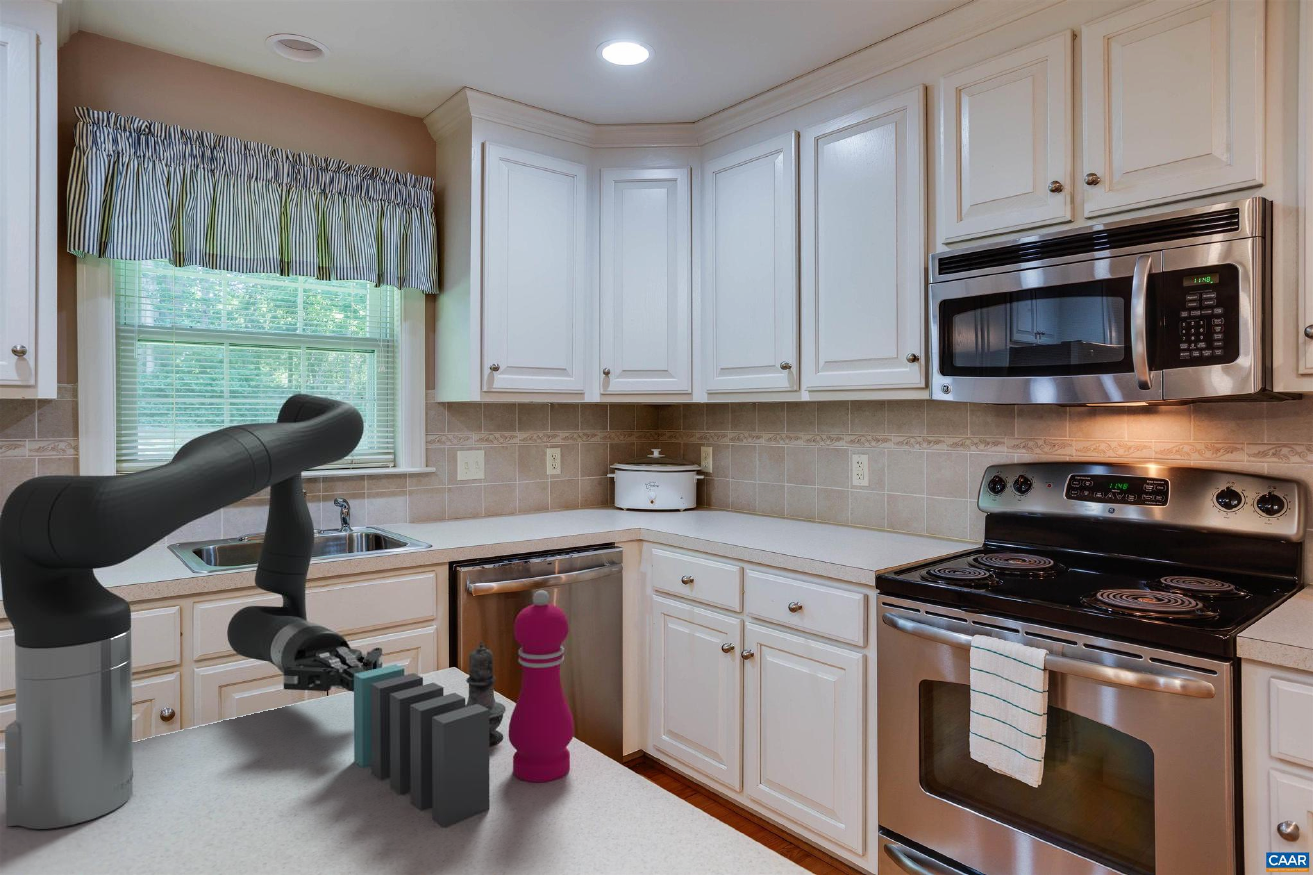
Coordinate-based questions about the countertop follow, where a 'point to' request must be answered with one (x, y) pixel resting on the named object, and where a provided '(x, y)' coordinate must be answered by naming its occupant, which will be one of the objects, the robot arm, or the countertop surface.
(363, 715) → the domino
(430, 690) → the domino
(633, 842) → the countertop surface
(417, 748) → the domino
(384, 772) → the domino
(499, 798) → the countertop surface
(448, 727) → the domino
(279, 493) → the robot arm
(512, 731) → the pepper mill
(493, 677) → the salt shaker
